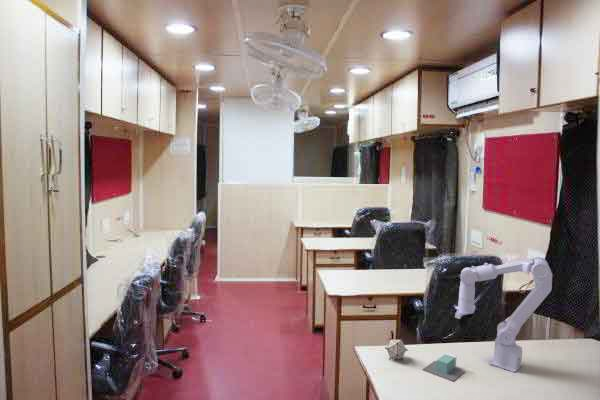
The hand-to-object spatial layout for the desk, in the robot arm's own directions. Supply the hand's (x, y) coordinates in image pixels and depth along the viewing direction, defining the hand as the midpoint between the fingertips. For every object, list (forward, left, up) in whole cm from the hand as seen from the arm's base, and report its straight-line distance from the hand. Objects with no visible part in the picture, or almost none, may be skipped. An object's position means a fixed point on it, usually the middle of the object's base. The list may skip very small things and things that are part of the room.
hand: (463, 331), depth 181 cm
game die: (+18, +21, -11) cm, 29 cm away
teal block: (0, +11, -8) cm, 14 cm away
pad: (0, +17, -10) cm, 20 cm away
